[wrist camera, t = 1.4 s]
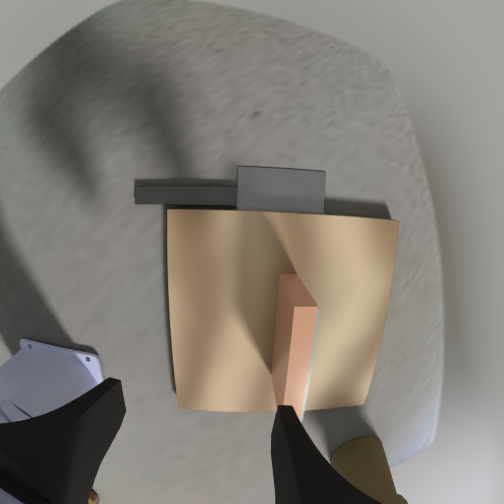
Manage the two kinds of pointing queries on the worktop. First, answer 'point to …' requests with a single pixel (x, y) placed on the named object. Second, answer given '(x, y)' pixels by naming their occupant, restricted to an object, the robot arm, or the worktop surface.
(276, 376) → the tile
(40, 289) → the worktop surface
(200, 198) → the turner
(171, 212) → the tan cloth
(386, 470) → the pepper shaker
